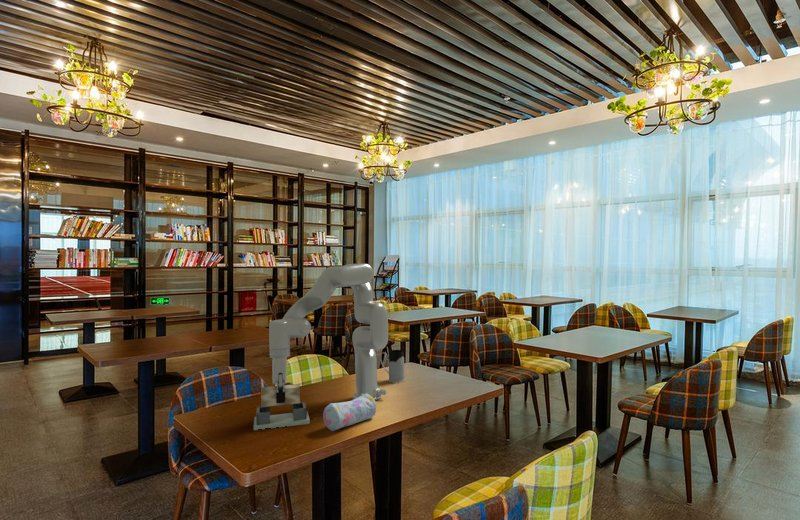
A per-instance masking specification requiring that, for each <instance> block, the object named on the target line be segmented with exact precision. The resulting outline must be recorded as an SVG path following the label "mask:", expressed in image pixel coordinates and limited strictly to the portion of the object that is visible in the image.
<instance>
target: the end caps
mask: <svg viewBox="0 0 800 520" xmlns="http://www.w3.org/2000/svg"><path fill="white" fill-rule="evenodd" d="M291 405H292V406H291V407H292V413H293V415H294V421H296V420H305V419H307V412H308V410H307V406H306V402H305V401H302V402H301V401H300V403H295V404H291ZM255 413H256V415H255V417H256V422H257V425H262V424H270V415H271V406H267V407H261V406H257V407H256V412H255Z"/></svg>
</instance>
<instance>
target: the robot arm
mask: <svg viewBox="0 0 800 520" xmlns="http://www.w3.org/2000/svg"><path fill="white" fill-rule="evenodd" d="M374 274H375V273H374V269H373V267H372V266H371V265H370V264H369V263H347V264H345V265H342V266H341V265H339V266H338V265H337V266H327V268H325V269H323V271H322V272H321V274H320V276H319V277H318V278H317V280H316V281H315V282H314V284H313V285H312V287H311V288H310V289H309V291H308V292H307V293H306V294H304V296H302V297H300V299H298V300H297V301H296V302H294V303H293V304H292V305H291V307H289V309H287V312H286V313H285V314H284V316H283V317H282V319H275V320H270V322H269V325H268V326H269V327H268V329H269V330H268V333H269V334H268V335H269V336H268V337H269V338H268V339H269V342H268V343H269V358H270V359H272V361H271V362H272V363H271V364H272V366H271V367H272V369H271V370H272V372H271V373H272V375H271V376H272V385H273V386H277V392H276V403H285V392H284V384H285V383H287V375H288V372H287V371H288V360H287V359H288V358H289V357H291V345H290V344H291V343H290V342H291V339H292V338H294V339H295V338H296V339H297V338H299V339H300V338H304V337H306V336H309V334H310V333H311V330H312V325H311V323H310V322H309V321H308V320H307V319H306V318H305V317H306V316H307V315H308V314H310V313H311V312H313V311H316V310H319V309H320V308H322V307H324V306H326V304H327V303H328V302H329V300H330V298H331V297H332V295H333V294H334V292H335V291H336V290H337V288H345V287H346V288H348V287H350V288H351V290H352V293H353V306H354V307H353V308H354V309H353V310H354V311H353V312H354V318H355V320H356V321H357V322H358V323H361V324H366V325H367V326H364V325H362V326H361V325H360V326H358V327H357V328H355V329H354V331H353V332H352V334H351V335H352V336H351V337H352V339H351V341H352V344H353V349H354V362H355V363H354V365H355V366H354V367H355V369H354V370H355V371H354V373H355V393H354V394H353V395H352V400H354V399H356V398H357V397H359V396H360V395H361V394H362V393H363V394H365V393H367V394H369V395H370V396H372V397H373V398H374V400H375V401H377V400H380V399H381V397H382V396H386V395H387V390H386V389H381V388H380V385H378V365H377V363H378V361H377V352H376V351H381V350H383V349H385V348H386V346H387V345H388V342H389V320H388V319H389V318H388V317H389V316H388V312H387V311H388V310H387V309H386V307H385V306H384V304H383V303H381V302H375V301H374V294H373V287H372V285H371V283H370V282H371V281H372V280H373V278H374V276H375V275H374ZM368 325H369V326H368ZM282 385H283V386H282Z"/></svg>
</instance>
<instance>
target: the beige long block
mask: <svg viewBox="0 0 800 520" xmlns="http://www.w3.org/2000/svg"><path fill="white" fill-rule="evenodd" d="M292 384H293V383H292ZM300 388H301V387H300V384H299V383H296V384H293V385H284V392H285V403H276V392H277V385H273V386H272V385H271V386H263V387H260V394H261V395H260V401H261V403H260V404H261V406H260V407H267V406H270V407H274V406H275V407H276V406H283V405H292V404H295V403H300V402H301V397H300V396H301V394H300V393H301V392H300V391H301V389H300Z"/></svg>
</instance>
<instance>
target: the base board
mask: <svg viewBox="0 0 800 520" xmlns="http://www.w3.org/2000/svg"><path fill="white" fill-rule="evenodd" d="M310 422H311V420H310V416H309V412H308V411H307V419H305V420H296V421H294V415H293V412H288V413H281V414H278V413H277V414H270V424H262V425H257V422H256V416H254V419H253V431H259V430H258V429H262V430H266V429H265V428H271V429H277V428H276V427H279V428H285V426H287V427H294V426H302V425H303V426H304V425H309V424H311V423H310Z"/></svg>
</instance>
